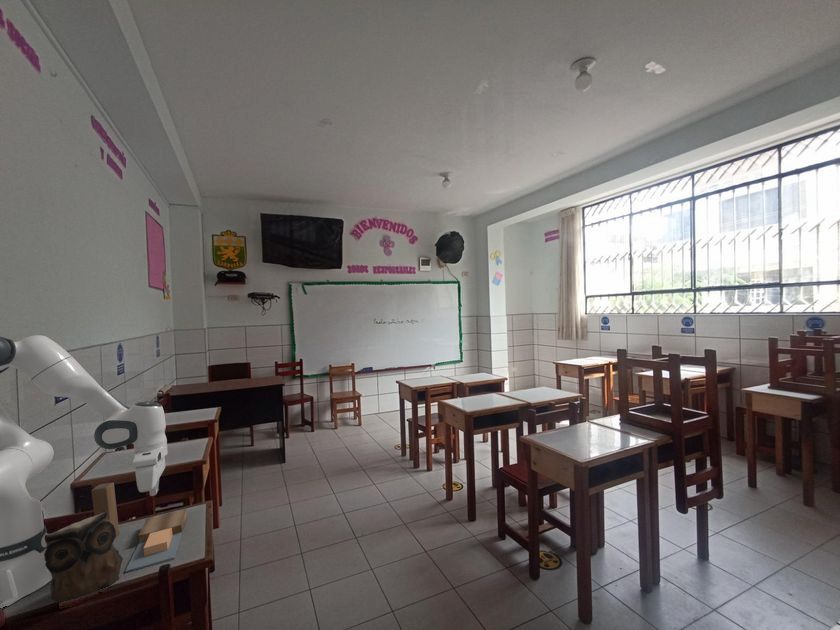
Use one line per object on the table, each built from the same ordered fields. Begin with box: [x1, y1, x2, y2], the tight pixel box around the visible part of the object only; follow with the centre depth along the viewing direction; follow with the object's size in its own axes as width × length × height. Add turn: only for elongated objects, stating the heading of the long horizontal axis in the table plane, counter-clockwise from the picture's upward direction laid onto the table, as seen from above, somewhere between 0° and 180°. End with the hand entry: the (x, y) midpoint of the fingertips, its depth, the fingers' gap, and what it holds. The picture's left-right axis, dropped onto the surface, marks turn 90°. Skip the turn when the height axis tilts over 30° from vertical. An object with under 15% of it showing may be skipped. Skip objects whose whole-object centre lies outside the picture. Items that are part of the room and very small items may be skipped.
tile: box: [144, 528, 173, 556], centre depth 124 cm, size 6×9×2 cm, turn 24°
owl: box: [44, 512, 124, 604], centre depth 105 cm, size 13×13×20 cm
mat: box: [124, 532, 183, 574], centre depth 122 cm, size 12×15×1 cm
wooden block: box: [91, 482, 120, 536], centre depth 131 cm, size 9×4×18 cm, turn 100°
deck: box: [137, 508, 188, 544], centre depth 134 cm, size 12×12×3 cm
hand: (154, 493), depth 128 cm, fingers closed
